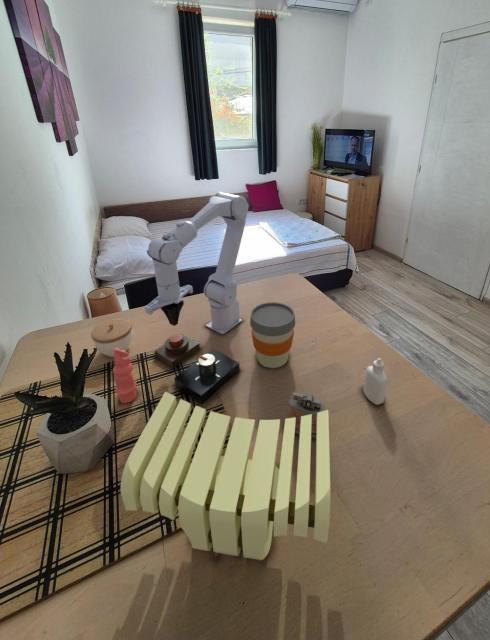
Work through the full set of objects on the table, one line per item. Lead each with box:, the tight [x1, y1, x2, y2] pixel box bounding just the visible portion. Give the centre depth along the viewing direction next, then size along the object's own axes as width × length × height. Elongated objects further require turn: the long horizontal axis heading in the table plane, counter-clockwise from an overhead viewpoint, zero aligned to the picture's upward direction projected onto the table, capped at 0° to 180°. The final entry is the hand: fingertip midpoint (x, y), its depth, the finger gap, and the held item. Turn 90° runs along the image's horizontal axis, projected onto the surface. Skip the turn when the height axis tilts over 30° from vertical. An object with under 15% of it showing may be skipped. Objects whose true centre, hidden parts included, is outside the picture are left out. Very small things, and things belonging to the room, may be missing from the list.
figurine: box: [112, 348, 138, 404], centre depth 79 cm, size 5×5×15 cm
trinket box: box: [90, 318, 134, 358], centre depth 96 cm, size 11×11×9 cm
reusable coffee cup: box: [249, 301, 296, 369], centre depth 92 cm, size 13×13×15 cm
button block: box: [154, 333, 200, 369], centre depth 96 cm, size 10×8×4 cm
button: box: [169, 333, 183, 347], centre depth 95 cm, size 4×4×2 cm
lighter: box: [288, 392, 327, 439], centre depth 71 cm, size 8×3×10 cm, turn 71°
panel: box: [173, 348, 241, 406], centre depth 86 cm, size 14×10×3 cm
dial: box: [197, 353, 216, 376], centre depth 85 cm, size 4×4×4 cm
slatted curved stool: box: [120, 391, 331, 561], centre depth 55 cm, size 30×16×18 cm, turn 82°
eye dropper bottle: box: [362, 357, 388, 406], centre depth 79 cm, size 4×6×12 cm
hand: (173, 323), depth 93 cm, fingers closed
